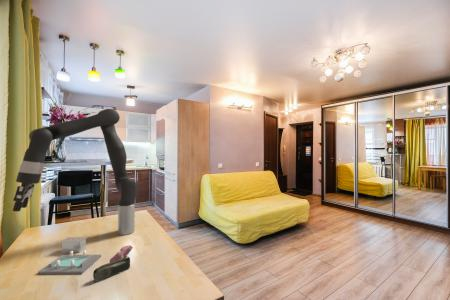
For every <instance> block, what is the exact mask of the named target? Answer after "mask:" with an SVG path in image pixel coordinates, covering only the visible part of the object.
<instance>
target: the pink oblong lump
mask: <svg viewBox="0 0 450 300" xmlns="http://www.w3.org/2000/svg"><path fill="white" fill-rule="evenodd" d="M133 248H134V247H133V246H132V245H129V244H127V245H124V246H123V247H121V248H120V250H118V251H117V253H116V254H114V256H112V257H111V258H110V259H109V263H111V262H114V261H117V260H121V259H124V258H126V257H128V255H129V254H130V252H131V251H132V250H133Z"/></svg>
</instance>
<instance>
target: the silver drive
mask: <svg viewBox="0 0 450 300" xmlns="http://www.w3.org/2000/svg"><path fill="white" fill-rule="evenodd" d="M86 248H87V237H86V236H69V237H66V238H63V240H61V253H63V254H64V253H66V254H67V253H69V254H70V251H73V254H74V253H75V254H77V253H79V254H80V253H81V252H82V253H83V251H85V250H86Z"/></svg>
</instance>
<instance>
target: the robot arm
mask: <svg viewBox="0 0 450 300" xmlns="http://www.w3.org/2000/svg"><path fill="white" fill-rule="evenodd" d="M120 118H121V117H120V114H119V112H118V111H117V110H115V109H112V108H105V109H102V110H99V111H98V113H95V114H93V115H90V116H86V117H81V118H77V119H72V120H67V121H63V122H59V123H56V124H53V125H48V126H44V127H40V128H35V129H32V131H30V133H29V136H28V138H29V140H30V142H29V145H28V148H27V149H26V150H25V151H24V155H23V159H22V162H21V164H20V165H19V169H18V172H17V175H16V179H15V182H16V183H19V184H20V183H21V185H18V186H17V187H16V191H15V194H14V197H13V200H12V201H13V202H14V203H13V209H12V211H13V212H20V211H21V210H22V208H24V209H26V208H27V207H28V203H29V200H30V199H31V197H32V196H33V192H34V189H35V185H37V184H39V183H40V181H41V178H42V173H43V170H44V166H45V165H44V164H45V159H46V157H47V156H46V155H47V152H48V151H49V148H50V146H51V145H52V144H51V143H52V141H55V140H59V139H62V138H67V137H71V136H74V135H77V134H80V133H83V132H85V131H88V130H91V129H95V128H99V127H100V130H101V132H102V136H103V138H104V139H103V140H104V142H105V147H106V152H107V154H108V158H109V162H110V166H111V169H112V171H113V176H114V183H115V187H116V190H117V191H118V192H119V193H120V199H118V202H117V234H118V235H120V236H121V235H122V236H124V235H125V236H126V235H127V236H128V235H131V234H133V233H134V232H135V231H136V230H135V228H136V225H135V222H136V221H135V219H136V218H135V217H136V216H135V215H136V214H135V213H136V212H135V211H136V209H135V207H136V203H135V202H136V200H137V190H138V189H137V182H136V181H135V180H134V178H133V179H132V178H129V176H128V172H127V167H126V166H127V152H126V149H125V144H124V143H123V142H122V140H121V138H120V137H119V135H118V133H117V131H116V126H115V125H116V124H118V122H119V121H120ZM130 233H131V234H130Z"/></svg>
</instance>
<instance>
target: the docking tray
mask: <svg viewBox="0 0 450 300" xmlns="http://www.w3.org/2000/svg"><path fill="white" fill-rule="evenodd" d="M100 258H102V254H87V250H83V251H82V254H74V253H73V251H70V253H69V254H61V255H60V256H58V257H57V258H56V259H54V260H53V261H51V262H50V263H49V264H47V265H45V266H44V267H42V268H41V269H40V270H38V271H37V275H72V274H73V275H83V274H84V273H85V272H86V271H87V270H88V269H90V268H91V266H93V265H94V264H95V263H96V262H97V261H98V260H100Z"/></svg>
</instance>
